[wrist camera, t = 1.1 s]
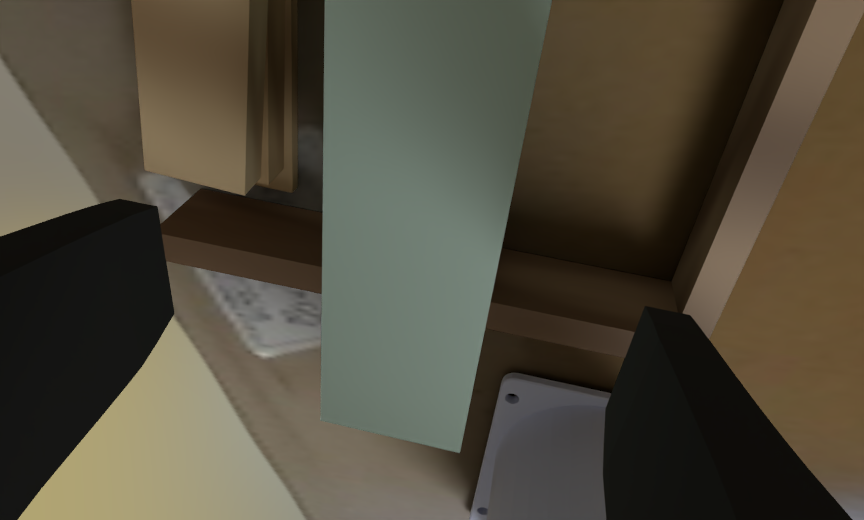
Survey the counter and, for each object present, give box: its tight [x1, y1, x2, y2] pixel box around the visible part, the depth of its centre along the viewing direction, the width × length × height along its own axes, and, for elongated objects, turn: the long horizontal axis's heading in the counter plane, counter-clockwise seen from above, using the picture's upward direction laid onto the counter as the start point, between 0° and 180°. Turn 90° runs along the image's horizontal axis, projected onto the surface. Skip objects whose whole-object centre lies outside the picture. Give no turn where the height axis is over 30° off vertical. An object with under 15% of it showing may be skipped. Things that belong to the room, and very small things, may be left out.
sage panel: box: [321, 0, 552, 453], centre depth 14 cm, size 9×3×9 cm, turn 174°
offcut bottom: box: [255, 0, 298, 193], centre depth 19 cm, size 8×3×1 cm, turn 173°
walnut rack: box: [160, 0, 864, 358], centre depth 17 cm, size 12×17×3 cm
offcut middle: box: [257, 0, 285, 185], centre depth 18 cm, size 8×3×1 cm, turn 172°
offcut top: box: [131, 0, 268, 196], centre depth 17 cm, size 7×3×1 cm, turn 169°
